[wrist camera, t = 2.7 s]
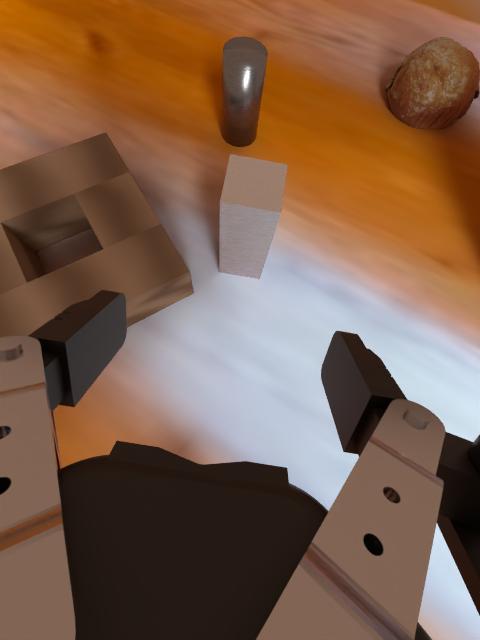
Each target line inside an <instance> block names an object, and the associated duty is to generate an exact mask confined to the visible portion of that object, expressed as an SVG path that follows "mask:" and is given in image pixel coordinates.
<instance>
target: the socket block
mask: <svg viewBox="0 0 480 640" xmlns="http://www.w3.org/2000/svg"><path fill="white" fill-rule="evenodd" d="M90 228H92V229H93V231H94V232H95V234H96V236H97V238H98V240H99V242H100V244H101V246H102V248H103V249H102V250H100V251H98V252H96V253H93V254H91V255H89V256H86V257H84V258H82V259H80V260H77V261H75V262H73V263H71V264H68V265H66V266H64V267H62V268H59V269H57V270H55V271H53V272H50V273H48V274H46V275H45V273H44V271H43V269H42V267H41V265H40V262H39V260H38V258H37V256H36V254H35V251H37V250H40V249H42V248H45V247H47V246H49V245H52V244H54V243H56V242H59V241H61V240H63V239H66V238H68V237H71V236H73V235H75V234H78V233H80V232H82V231H85V230H87V229H90ZM101 290H107V291H113V292H119V293H123V294H124V295H125V297H126V325H127V327H128V326H130V325H132V324H134V323H136V322H138V321H140V320H142V319H144V318H146V317H148V316H150V315H152V314H154V313H156V312H158V311H160V310H162V309H164V308H166V307H168V306H169V305H171V304H173V303H175V302H177V301H179V300H181V299H183V298H185V297H187V296H189V295H191V294H193V293H194V291H193V286H192V282H191V277H190V272H189V270H188V268H187V267H186V265H185V263H184V262H183V260H182V258H181V257H180V255H179V253H178V252H177V250H176V248H175V247H174V245H173V243H172V242H171V240H170V238H169V237H168V235H167V233H166V232H165V230H164V228H163V227H162V225H161V223H160V222H159V220H158V218H157V217H156V215H155V213H154V212H153V210H152V208H151V207H150V205H149V203H148V202H147V200H146V198H145V197H144V195H143V193H142V192H141V190H140V188H139V187H138V185H137V183H136V182H135V180H134V178H133V177H132V175H131V173H130V172H129V170H128V168H127V167H126V165H125V163H124V162H123V160H122V158H121V157H120V155H119V153H118V152H117V150H116V148H115V147H114V145H113V143H112V142H111V140H110V138H109V137H108V135H107V133H103V134H100V135H97V136H95V137H92V138H89V139H86V140H83V141H80V142H78V143H75V144H72V145H69V146H66V147H63V148H61V149H58V150H55V151H52V152H49V153H46V154H44V155H41V156H38V157H35V158H32V159H29V160H27V161H24V162H21V163H18V164H15V165H12V166H10V167H7V168H4V169H1V170H0V338H2V337H7V336H28V335H30V334H31V333H33V332H34V331H35V330H37V329H38V328H40V327H41V326H42V325H44V324H45V323H47V322H48V321H49V320H51V319H54V317H55V316H56V315H58V314H59V313H62V311H63V310H65V309H66V308H68V307H69V306H71V305H72V304H75V303H78V302H81V301H84V300H89V299H90V298H92V297H93V296H94V295H95V294H97V293H98V292H99V291H101Z"/></svg>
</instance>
